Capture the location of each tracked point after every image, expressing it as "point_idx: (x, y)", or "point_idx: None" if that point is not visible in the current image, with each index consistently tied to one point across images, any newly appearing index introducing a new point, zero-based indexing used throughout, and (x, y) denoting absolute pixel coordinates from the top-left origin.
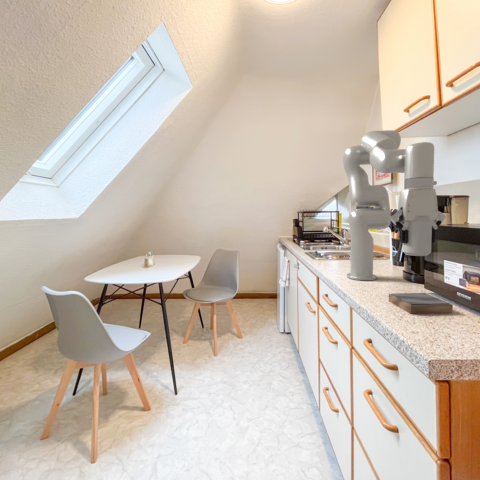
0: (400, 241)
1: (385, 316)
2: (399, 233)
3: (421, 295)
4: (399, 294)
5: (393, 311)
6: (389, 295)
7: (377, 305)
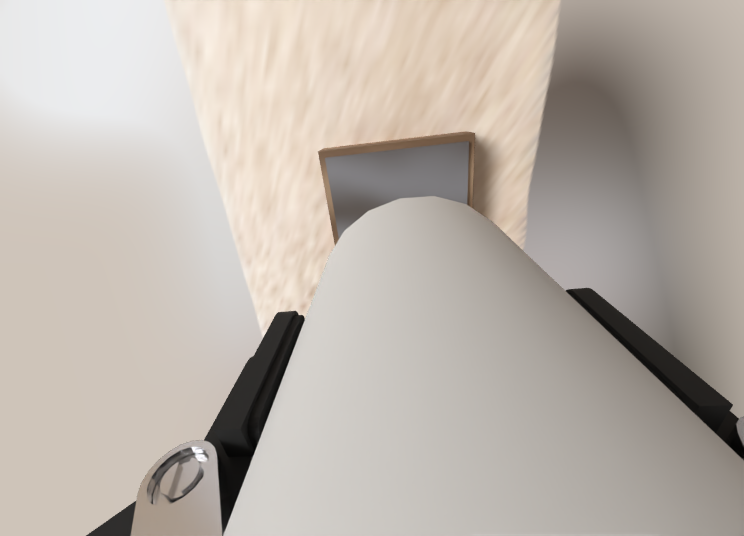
0: (279, 321)
1: (273, 290)
2: (221, 414)
3: (430, 184)
4: (352, 171)
5: (305, 253)
6: (319, 156)
7: (271, 199)
